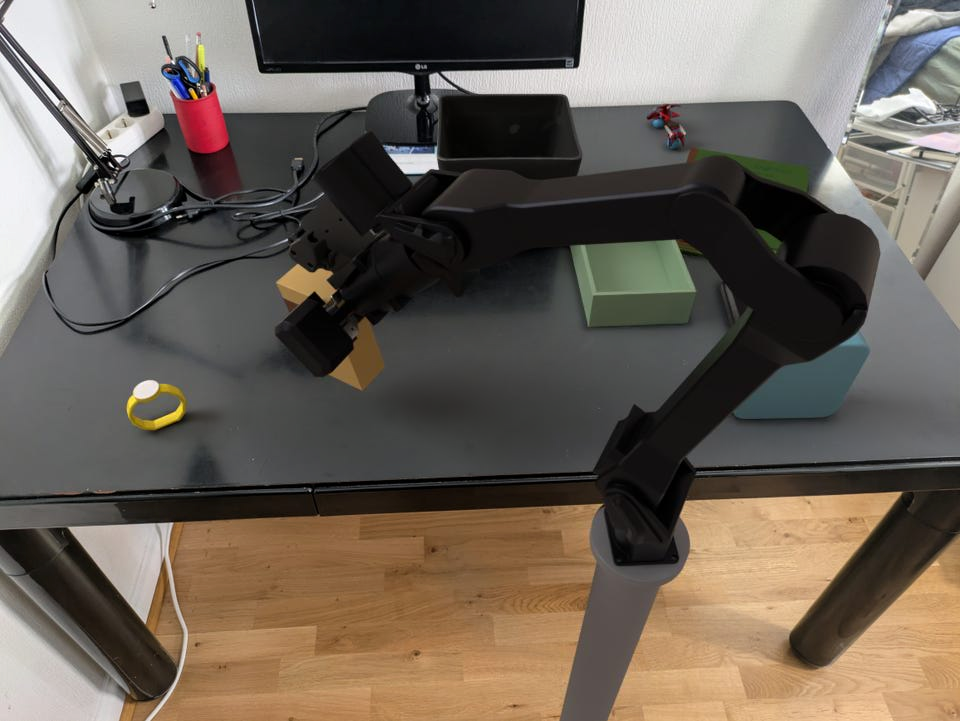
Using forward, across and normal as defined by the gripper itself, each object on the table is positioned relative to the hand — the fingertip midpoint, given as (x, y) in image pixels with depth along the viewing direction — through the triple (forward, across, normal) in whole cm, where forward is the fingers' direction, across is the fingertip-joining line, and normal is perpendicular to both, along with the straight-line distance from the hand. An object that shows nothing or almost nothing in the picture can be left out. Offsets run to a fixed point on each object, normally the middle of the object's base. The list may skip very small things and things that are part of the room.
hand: (322, 318), depth 72 cm
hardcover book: (-13, -60, +32) cm, 69 cm away
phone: (-19, -37, +38) cm, 57 cm away
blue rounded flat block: (-22, -24, +42) cm, 53 cm away
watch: (+21, +12, -2) cm, 25 cm away
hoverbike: (0, -79, +19) cm, 82 cm away
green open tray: (-5, -38, +24) cm, 46 cm away
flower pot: (+9, -41, +10) cm, 43 cm away
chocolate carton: (+4, 0, +6) cm, 7 cm away
